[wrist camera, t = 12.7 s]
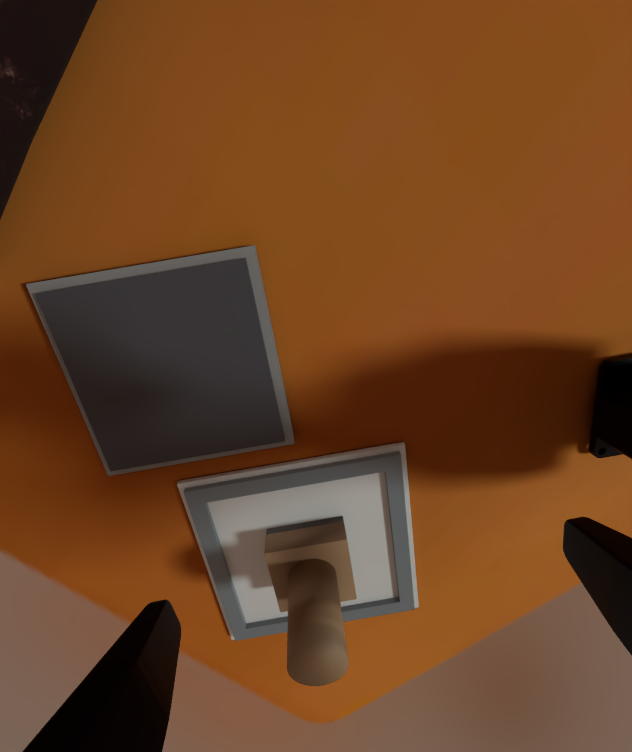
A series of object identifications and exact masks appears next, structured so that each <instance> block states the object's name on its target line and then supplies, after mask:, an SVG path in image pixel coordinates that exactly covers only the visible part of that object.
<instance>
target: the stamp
mask: <svg viewBox="0 0 632 752" xmlns="http://www.w3.org/2000/svg"><path fill="white" fill-rule="evenodd" d="M264 554H265V558H266V562H267V565H268V569H269V573H270V576H271V580H272V584H273V587H274V591H275V595H276V598H277V602H278V606H279V609H280V612H286V611H288V642H287V670H288V673H289V675H290V677H291V678H292V679H294V680H295V681H296V682H298V683H301V684H304V685H308V686H321V685H326V684H329V683H332V682H334V681H336V680H338V679H339V678H340V677H342V676H343V675H344V674H345V672H346V670H347V668H348V655H347V648H346V641H345V633H344V626H343V619H342V611H341V604H340V602H343V601H349V600H355V599H357V597H356V590H355V584H354V578H353V572H352V566H351V560H350V554H349V548H348V542H347V536H346V531H345V525H344V520H343V516H338V517H332V518H327V519H321V520H315V521H309V522H303V523H298V524H292V525H286V526H280V527H275V528H269V529H267V530H266V541H265V552H264Z"/></svg>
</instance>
